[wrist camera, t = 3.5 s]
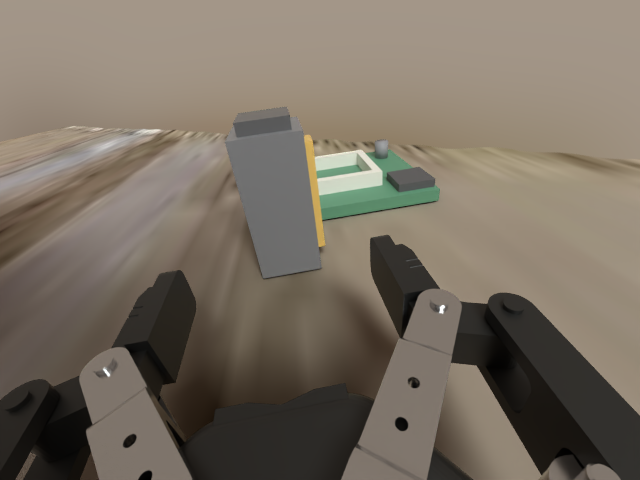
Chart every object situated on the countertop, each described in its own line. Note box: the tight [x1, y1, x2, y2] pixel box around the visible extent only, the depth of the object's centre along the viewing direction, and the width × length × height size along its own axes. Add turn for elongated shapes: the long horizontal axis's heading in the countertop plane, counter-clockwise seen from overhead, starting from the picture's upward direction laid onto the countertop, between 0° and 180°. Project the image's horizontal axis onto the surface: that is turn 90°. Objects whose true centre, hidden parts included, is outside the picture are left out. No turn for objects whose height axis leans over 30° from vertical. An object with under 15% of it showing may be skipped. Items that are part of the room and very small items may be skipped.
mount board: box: [315, 140, 440, 220], centre depth 33 cm, size 18×14×3 cm
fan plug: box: [225, 107, 325, 279], centre depth 21 cm, size 5×4×11 cm
